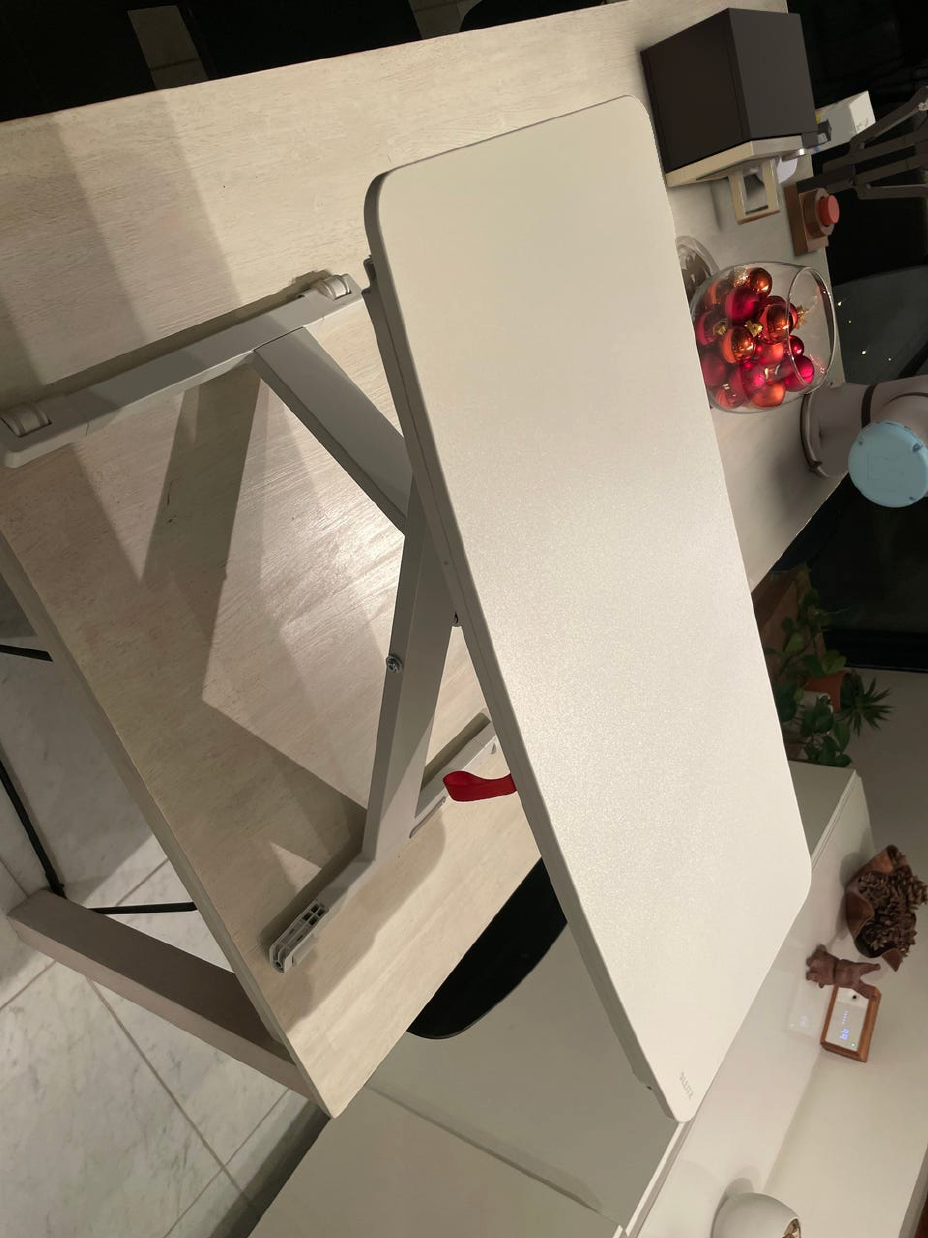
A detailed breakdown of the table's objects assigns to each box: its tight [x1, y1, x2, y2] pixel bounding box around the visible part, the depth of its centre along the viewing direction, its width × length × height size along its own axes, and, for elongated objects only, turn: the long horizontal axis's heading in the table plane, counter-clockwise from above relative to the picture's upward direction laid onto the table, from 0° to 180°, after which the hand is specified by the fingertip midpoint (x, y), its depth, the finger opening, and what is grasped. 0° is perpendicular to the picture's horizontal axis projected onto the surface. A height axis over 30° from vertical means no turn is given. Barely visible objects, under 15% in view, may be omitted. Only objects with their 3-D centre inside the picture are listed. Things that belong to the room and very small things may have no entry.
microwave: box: [639, 7, 819, 178], centre depth 120 cm, size 16×20×12 cm
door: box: [665, 135, 803, 226], centre depth 121 cm, size 8×15×12 cm, turn 111°
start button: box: [818, 194, 840, 226], centre depth 144 cm, size 4×4×2 cm
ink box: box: [797, 90, 876, 160], centre depth 140 cm, size 9×5×12 cm, turn 123°
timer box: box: [783, 183, 835, 257], centre depth 146 cm, size 10×8×4 cm
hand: (801, 186), depth 123 cm, fingers closed
